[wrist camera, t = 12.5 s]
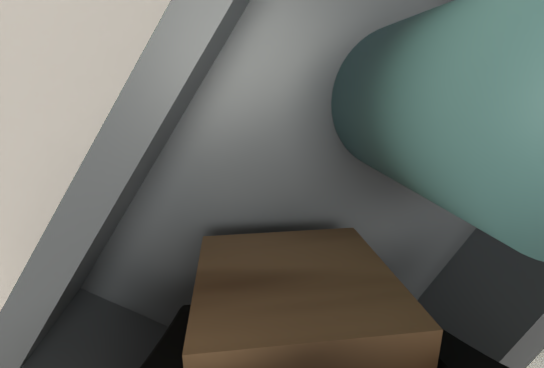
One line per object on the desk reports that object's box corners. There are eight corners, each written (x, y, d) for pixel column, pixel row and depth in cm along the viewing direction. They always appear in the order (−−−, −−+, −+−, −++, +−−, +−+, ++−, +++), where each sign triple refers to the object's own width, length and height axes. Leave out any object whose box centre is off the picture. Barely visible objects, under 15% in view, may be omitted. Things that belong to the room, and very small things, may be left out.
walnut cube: (345, 349, 13) (414, 506, 8) (211, 362, 12) (200, 540, 7) (353, 227, 11) (443, 330, 7) (202, 236, 11) (182, 354, 6)
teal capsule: (488, 44, 12) (836, -13, 5) (438, 180, 13) (663, 282, 6) (354, 4, 11) (557, -128, 4) (315, 154, 12) (421, 241, 5)
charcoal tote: (590, 89, 14) (783, 92, 9) (333, 403, 17) (374, 529, 12) (316, -176, 10) (393, -407, 5) (54, 282, 13) (-44, 392, 8)
